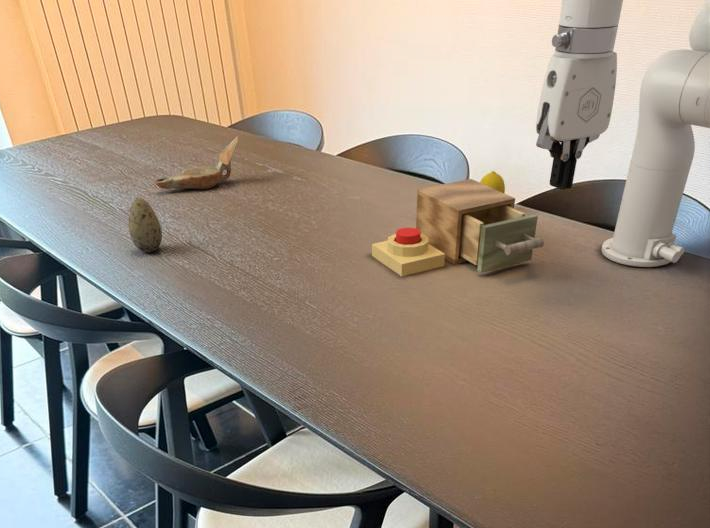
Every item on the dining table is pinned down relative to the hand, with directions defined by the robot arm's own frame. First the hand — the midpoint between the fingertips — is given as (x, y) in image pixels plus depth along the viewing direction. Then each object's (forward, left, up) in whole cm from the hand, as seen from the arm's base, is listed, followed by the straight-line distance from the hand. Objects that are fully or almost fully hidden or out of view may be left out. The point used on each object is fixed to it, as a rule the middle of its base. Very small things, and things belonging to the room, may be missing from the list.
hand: (560, 186), depth 101 cm
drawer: (+14, 0, -16) cm, 21 cm away
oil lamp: (+87, +32, -17) cm, 94 cm away
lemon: (+37, -16, -17) cm, 44 cm away
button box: (+23, +12, -17) cm, 31 cm away
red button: (+23, +12, -13) cm, 29 cm away
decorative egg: (+53, +53, -17) cm, 77 cm away
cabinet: (+24, 0, -17) cm, 29 cm away
